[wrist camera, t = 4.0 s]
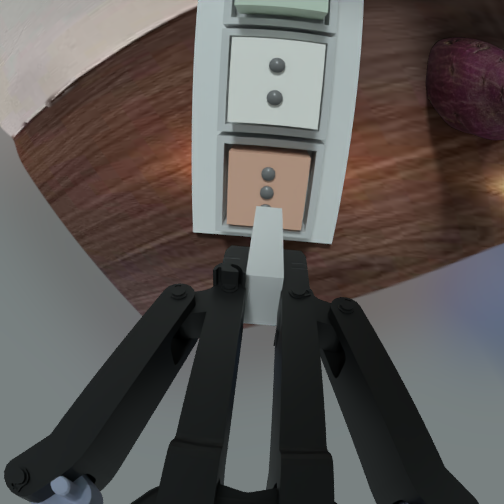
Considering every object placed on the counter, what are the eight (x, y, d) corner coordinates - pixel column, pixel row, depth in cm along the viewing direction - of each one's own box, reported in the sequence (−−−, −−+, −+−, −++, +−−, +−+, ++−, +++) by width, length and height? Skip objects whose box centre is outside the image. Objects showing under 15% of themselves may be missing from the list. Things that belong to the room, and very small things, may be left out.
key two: (236, 42, 19) (231, 36, 17) (319, 49, 19) (326, 44, 17) (232, 117, 23) (227, 122, 20) (312, 124, 23) (317, 129, 20)
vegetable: (425, 128, 27) (470, 202, 16) (409, 36, 21) (463, 47, 10) (504, 126, 23) (573, 198, 12) (496, 38, 17) (583, 66, 6)
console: (207, -58, 16) (198, -73, 13) (361, -45, 15) (371, -58, 12) (195, 227, 32) (187, 244, 29) (330, 239, 31) (335, 257, 28)
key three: (233, 143, 26) (228, 152, 23) (306, 150, 25) (311, 159, 23) (231, 210, 29) (226, 225, 26) (298, 215, 29) (300, 231, 26)
